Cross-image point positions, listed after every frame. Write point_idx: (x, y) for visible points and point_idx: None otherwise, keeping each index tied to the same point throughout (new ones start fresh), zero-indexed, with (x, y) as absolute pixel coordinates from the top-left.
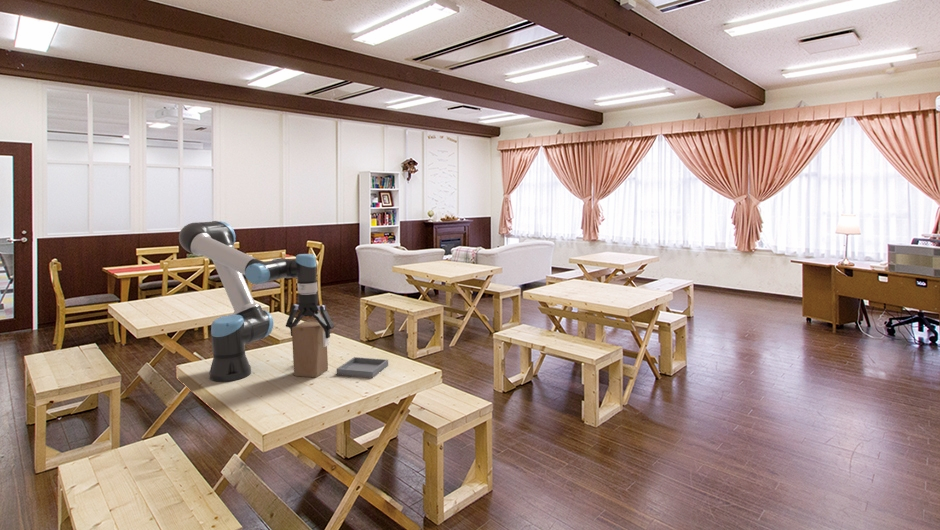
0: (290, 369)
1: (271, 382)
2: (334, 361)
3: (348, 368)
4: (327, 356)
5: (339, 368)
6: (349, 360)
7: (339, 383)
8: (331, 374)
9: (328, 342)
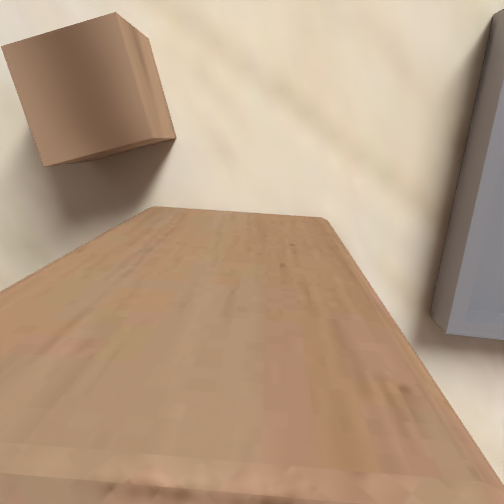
0: (50, 247)
1: None
2: (302, 5)
3: (494, 205)
4: (342, 243)
5: (467, 323)
6: (499, 113)
7: (493, 450)
8: (388, 309)
9: None
